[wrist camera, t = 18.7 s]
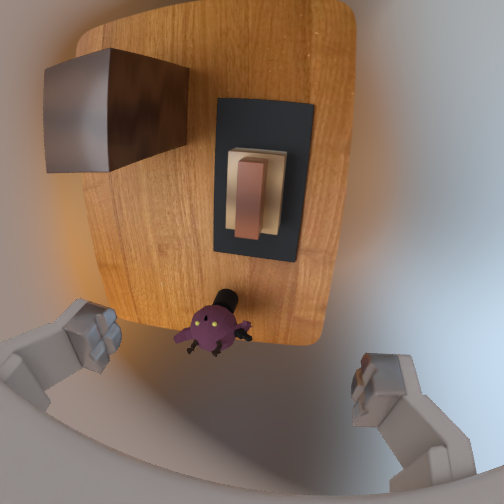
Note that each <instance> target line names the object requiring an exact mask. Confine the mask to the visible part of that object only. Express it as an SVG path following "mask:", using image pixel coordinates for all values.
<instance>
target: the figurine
mask: <svg viewBox="0 0 504 504" xmlns="http://www.w3.org/2000/svg"><path fill="white" fill-rule="evenodd" d="M237 302H238V296H237V294H236V293H235V292H234V291H232V290H229V289H222V290H220V291H219V292H218V294H217V296H216V298H215V300H214V302H213V304H212V305H208V306H205V307H203V308H202V309H200V310H199V311H198V312H196V313H195V314H194V316H193V318H192V322H191V326H190V327H189V328H184V329H183V330H182V331H180V332H179V333H178V334H177V335H175V336H174V340H175V342H176V343H180V342H183V341H186V340H190V339H194V342H193V344H192V345H191V348H187V352H188V354H190V353H191V351H194V348H195V346H196V345H198V346H199V347H201V348H202V349H204V350H207V351H209V352H212V354H213V356H215V357H217V354H219V353H221V352H220V351H222V350H224V349H226V348H228V347H230V346H231V345H232V344H233V342H234V340H235V338H236V337H238V338H239V339H245V340H246V341H251V340H252V336H250V335H248V334H247V331H248V330H249V328H250V327H252V326H251V325H250V324H251V322H249V321H243V323H241V324H238V325H237V322H236V319H235V316H234V315H233V313H234V311H235V308H236V305H237Z"/></svg>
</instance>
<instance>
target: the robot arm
mask: <svg viewBox="0 0 504 504" xmlns="http://www.w3.org/2000/svg"><path fill="white" fill-rule="evenodd" d="M116 319H117V315H116V312H115V310H114V309H112V308H109V307H106V306H103V305H100V304H97V303H93V302H91V301H86V300H84V299H76V300H75V301H74V302H73V303H72V304H71V305H70V306H69V307H68V308H67V309H66V310H65V312H64V313H63V314H61V316H60V317H59V318H58V319H57V320H56V321H55V322H54V323H53V324H50V323H49V324H46V325H44V326H41V327H39V328H36V329H34V330H31V331H29V332H26V333H23V334H21V335H19V336H16V337H13V338H11V339H8V340H6V341H3V342H1V343H0V504H504V465H503V466H500V467H497V468H494V469H492V470H489V471H486V472H483V473H480V474H477V473H476V468H475V462H474V457H473V452H472V448H471V443H470V439H469V438H468V437H467V436H466V435H465V434H464V433H463V432H462V431H461V430H460V429H459V428H458V427H457V426H456V425H455V424H454V423H453V422H452V421H451V420H450V419H449V418H448V417H447V416H446V415H445V414H444V413H443V412H442V411H441V409H439V407H438V406H436V404H435V403H433V401H432V400H431V399H430V398H429V397H428V396H427V395H422V392H421V388H420V384H419V381H418V377H417V373H416V370H415V367H414V363H413V360H412V357H411V356H410V355H399V354H397V355H396V354H395V355H394V354H377V353H365V354H364V355H363V358H362V360H361V368H359V369H358V370H356V373H355V375H354V377H353V381H352V386H351V398H352V399H353V400H354V402H355V405H354V407H353V409H352V418H353V427H378V430H379V432H380V433H381V435H382V436H383V438H384V440H385V441H386V443H387V444H388V445H389V447H390V448H391V450H392V452H393V453H394V455H395V456H396V458H397V459H398V461H399V462H400V464H401V465H402V467H403V468H404V469H403V470H402V471H401V472H399V473H398V474H397V475H395V476H394V477H393V478H392V479H391V480H390V493H383V494H371V495H352V496H315V495H296V494H284V493H275V492H266V491H258V490H252V489H246V488H240V487H235V486H230V485H225V484H220V483H216V482H211V481H207V480H203V479H199V478H195V477H192V476H188V475H184V474H180V473H178V472H174V471H171V470H168V469H165V468H162V467H159V466H156V465H153V464H151V463H148V462H145V461H142V460H140V459H137V458H134V457H132V456H130V455H127V454H125V453H122V452H120V451H118V450H116V449H113V448H111V447H109V446H107V445H104V444H102V443H100V442H98V441H96V440H94V439H92V438H90V437H88V436H86V435H84V434H82V433H80V432H79V431H77V430H75V429H73V428H71V427H70V426H68V425H66V424H64V423H62V422H61V421H59V420H58V419H56V418H54V417H53V416H51V415H49V414H48V413H46V412H45V411H46V409H47V408H48V407H49V405H50V403H51V402H50V399H49V397H48V396H47V395H46V393H45V392H44V391H45V390H47V389H49V388H50V387H52V386H54V385H55V384H57V383H59V382H60V381H62V380H63V379H65V378H67V377H68V376H70V375H72V374H74V373H75V372H77V371H78V370H80V369H82V367H84V368H86V369H89V370H92V371H94V372H97V373H100V374H101V373H102V371H103V370H104V369H105V367H106V366H107V364H108V363H109V361H110V358H109V355H111V354H113V353H115V352H116V351H117V349H118V348H119V346H120V343H121V340H122V333H121V329H120V327H119V325H118V324H117V323H116V322H115V321H116Z"/></svg>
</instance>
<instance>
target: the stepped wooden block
mask: <svg viewBox="0 0 504 504" xmlns="http://www.w3.org/2000/svg"><path fill="white" fill-rule="evenodd" d="M286 159H287V152H284V151H274V150H264V149H252V148H238V147H236V148H234V149H232V150H230V151H228V172H227V199H226V229H234V230H235V237H240V238H247V239H255V240H258V239H259V236H260V233H266V234H274V235H277V234H278V230H279V226H280V219H281V210H282V200H283V190H284V180H285V169H286Z"/></svg>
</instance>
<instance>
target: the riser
mask: <svg viewBox="0 0 504 504" xmlns="http://www.w3.org/2000/svg"><path fill="white" fill-rule="evenodd" d="M188 79H189V68H186V67H183V66H180V65H176V64H173V63H170V62H166V61H163V60H159V59H156V58H152V57H148V56H144V55H140V54H136V53H132V52H127V51H123V50H118V49H113V48H108V49H105V50H101V51H97V52H94V53H90V54H87V55H84V56H80V57H77V58H74V59H71V60H69V61H66V62H63V63H60V64H58V65H55V66H52V67H49V68H47V69H45V74H44V95H43V121H44V122H43V123H44V124H43V125H44V146H45V160H46V170H47V173H73V172H74V173H75V172H111V171H114V170H116V169H119V168H121V167H124V166H127V165H129V164H132V163H134V162H137V161H140V160H143V159H145V158H148V157H151V156H154V155H157V154H160V153H163V152H166V151H169V150H172V149H175V148H178V147H181V146H184V145H186V124H187V98H188Z"/></svg>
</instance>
